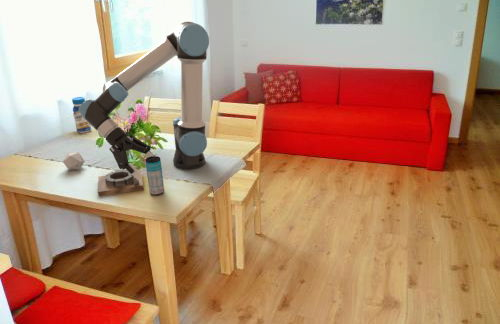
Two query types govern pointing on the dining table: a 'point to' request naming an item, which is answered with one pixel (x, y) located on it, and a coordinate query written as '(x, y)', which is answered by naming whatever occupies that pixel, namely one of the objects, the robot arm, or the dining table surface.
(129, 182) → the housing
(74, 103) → the beverage bottle
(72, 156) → the die
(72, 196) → the dining table surface
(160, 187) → the beverage can
